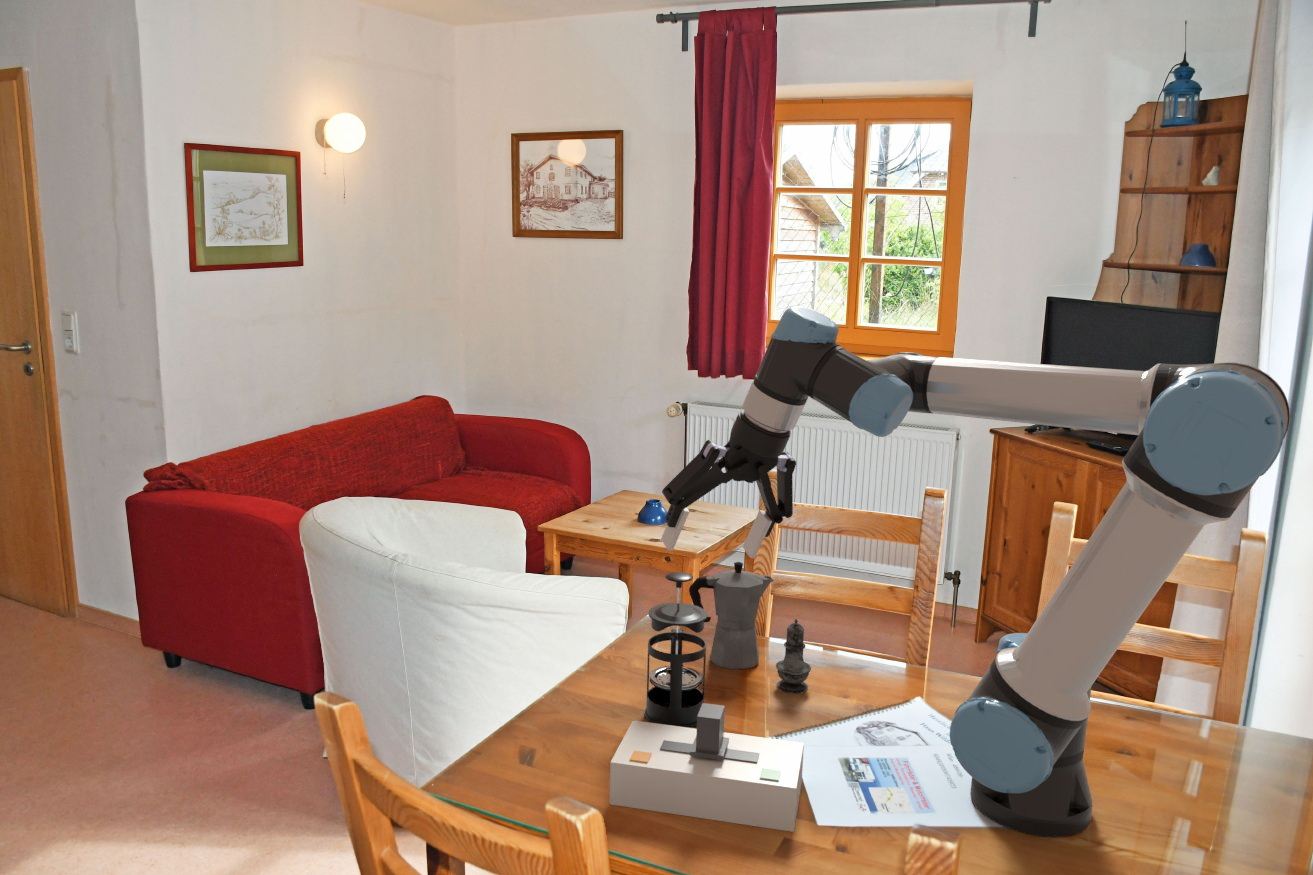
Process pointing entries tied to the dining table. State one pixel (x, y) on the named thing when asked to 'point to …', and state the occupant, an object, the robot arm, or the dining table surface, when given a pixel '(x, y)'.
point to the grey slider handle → (710, 733)
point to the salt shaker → (793, 662)
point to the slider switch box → (708, 776)
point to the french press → (676, 662)
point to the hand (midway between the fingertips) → (708, 549)
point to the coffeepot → (734, 615)
